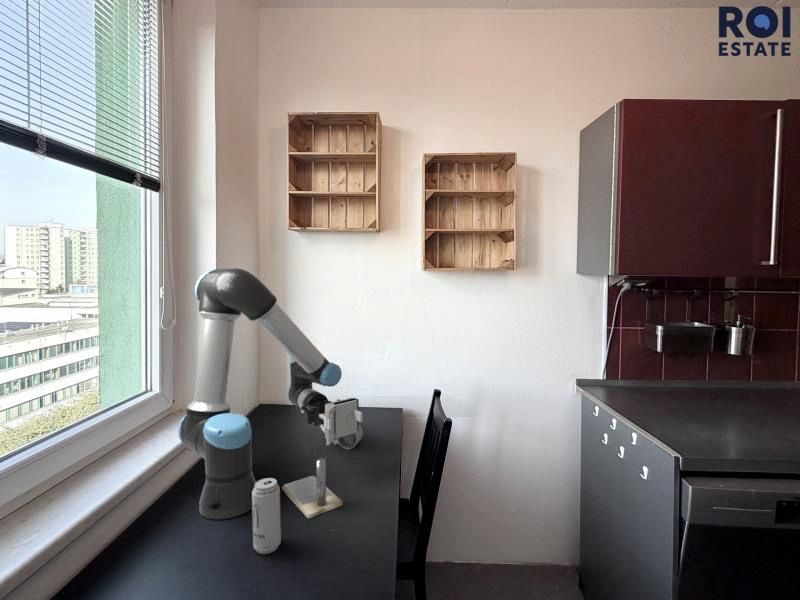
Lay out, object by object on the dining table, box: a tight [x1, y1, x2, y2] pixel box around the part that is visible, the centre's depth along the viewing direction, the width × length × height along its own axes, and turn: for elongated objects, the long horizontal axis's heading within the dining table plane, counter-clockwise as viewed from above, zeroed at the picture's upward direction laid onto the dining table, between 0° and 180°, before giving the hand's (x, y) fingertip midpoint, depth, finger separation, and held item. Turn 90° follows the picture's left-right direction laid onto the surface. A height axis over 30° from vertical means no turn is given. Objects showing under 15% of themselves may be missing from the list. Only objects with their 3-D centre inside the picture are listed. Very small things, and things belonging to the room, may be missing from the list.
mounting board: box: [281, 475, 344, 519], centre depth 114 cm, size 10×18×1 cm, turn 37°
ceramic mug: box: [332, 424, 364, 450], centre depth 150 cm, size 11×8×8 cm
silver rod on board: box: [283, 457, 333, 506], centre depth 114 cm, size 9×17×12 cm, turn 37°
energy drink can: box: [251, 477, 282, 555], centre depth 92 cm, size 6×6×15 cm
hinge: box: [324, 397, 360, 446], centre depth 122 cm, size 14×5×10 cm, turn 144°
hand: (346, 421), depth 118 cm, fingers closed on hinge, 9 cm apart
